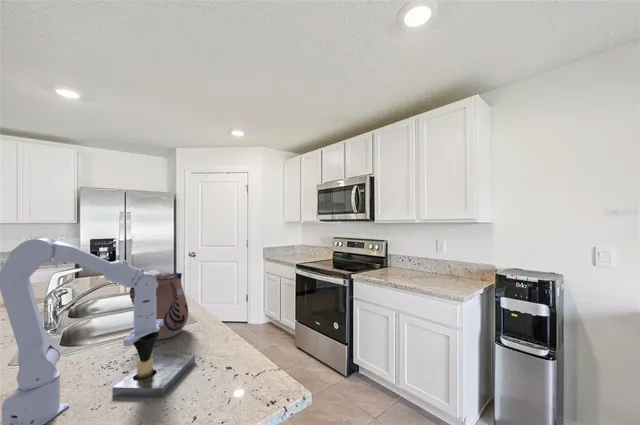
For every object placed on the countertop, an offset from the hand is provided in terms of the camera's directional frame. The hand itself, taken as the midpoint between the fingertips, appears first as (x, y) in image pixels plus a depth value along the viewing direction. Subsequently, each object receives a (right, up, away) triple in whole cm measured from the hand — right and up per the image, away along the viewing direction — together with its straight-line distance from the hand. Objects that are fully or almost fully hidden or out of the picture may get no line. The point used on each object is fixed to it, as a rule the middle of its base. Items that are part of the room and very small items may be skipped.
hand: (145, 359), depth 81 cm
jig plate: (+2, -7, +3) cm, 8 cm away
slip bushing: (0, -7, 0) cm, 7 cm away
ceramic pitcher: (-14, -8, +31) cm, 35 cm away
